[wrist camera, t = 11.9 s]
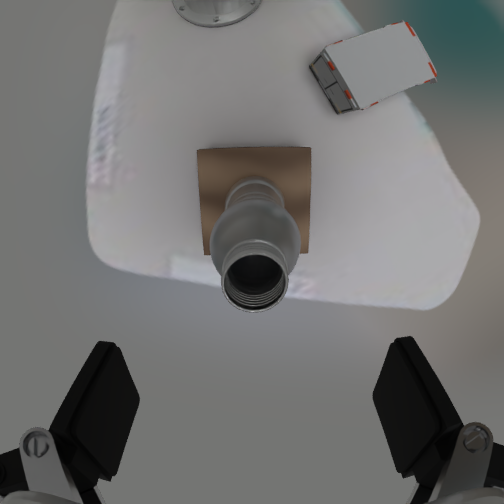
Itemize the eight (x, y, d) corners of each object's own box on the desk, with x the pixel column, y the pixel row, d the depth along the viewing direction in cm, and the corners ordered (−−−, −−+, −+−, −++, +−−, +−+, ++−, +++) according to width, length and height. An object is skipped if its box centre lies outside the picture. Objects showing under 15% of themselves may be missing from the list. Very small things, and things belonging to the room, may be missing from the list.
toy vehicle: (427, 81, 32) (466, 74, 23) (337, 121, 36) (363, 118, 26) (397, 28, 29) (429, 8, 20) (302, 62, 33) (317, 41, 23)
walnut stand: (205, 147, 37) (196, 150, 32) (302, 145, 37) (311, 147, 31) (210, 238, 42) (204, 255, 37) (301, 237, 42) (308, 253, 36)
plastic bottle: (219, 218, 35) (181, 316, 16) (237, 165, 32) (213, 205, 14) (270, 235, 36) (286, 345, 17) (290, 183, 33) (336, 246, 15)
